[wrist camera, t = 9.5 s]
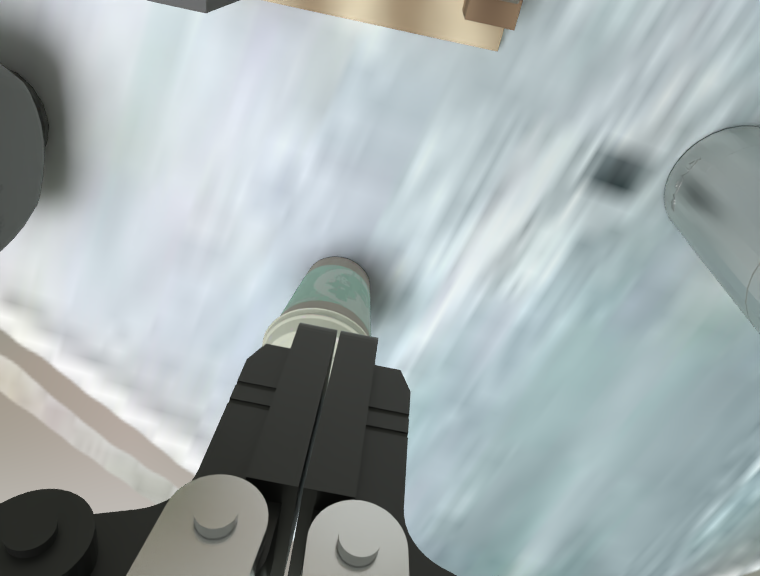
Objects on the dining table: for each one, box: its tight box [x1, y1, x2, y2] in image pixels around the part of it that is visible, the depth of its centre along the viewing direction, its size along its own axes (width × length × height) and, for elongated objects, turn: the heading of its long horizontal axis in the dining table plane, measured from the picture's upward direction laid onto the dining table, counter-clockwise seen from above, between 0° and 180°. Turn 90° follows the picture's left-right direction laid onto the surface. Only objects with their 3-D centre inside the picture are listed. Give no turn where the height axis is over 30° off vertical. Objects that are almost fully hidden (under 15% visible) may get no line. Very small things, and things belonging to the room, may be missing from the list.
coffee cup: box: [262, 257, 371, 382], centre depth 47 cm, size 8×9×12 cm
